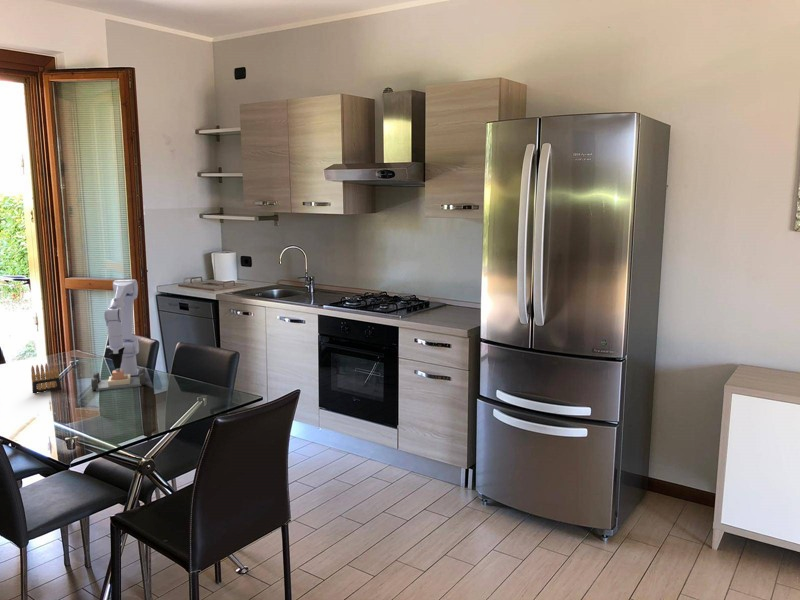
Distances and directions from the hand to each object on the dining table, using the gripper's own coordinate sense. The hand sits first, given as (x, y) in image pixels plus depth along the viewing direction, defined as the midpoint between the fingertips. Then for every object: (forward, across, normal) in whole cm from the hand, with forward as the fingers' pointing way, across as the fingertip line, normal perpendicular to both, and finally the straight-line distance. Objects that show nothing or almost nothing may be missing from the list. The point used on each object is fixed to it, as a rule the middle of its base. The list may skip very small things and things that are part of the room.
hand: (118, 366), depth 291 cm
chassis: (+8, 0, 0) cm, 8 cm away
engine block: (+7, 0, 0) cm, 7 cm away
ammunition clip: (+8, -2, -29) cm, 30 cm away
